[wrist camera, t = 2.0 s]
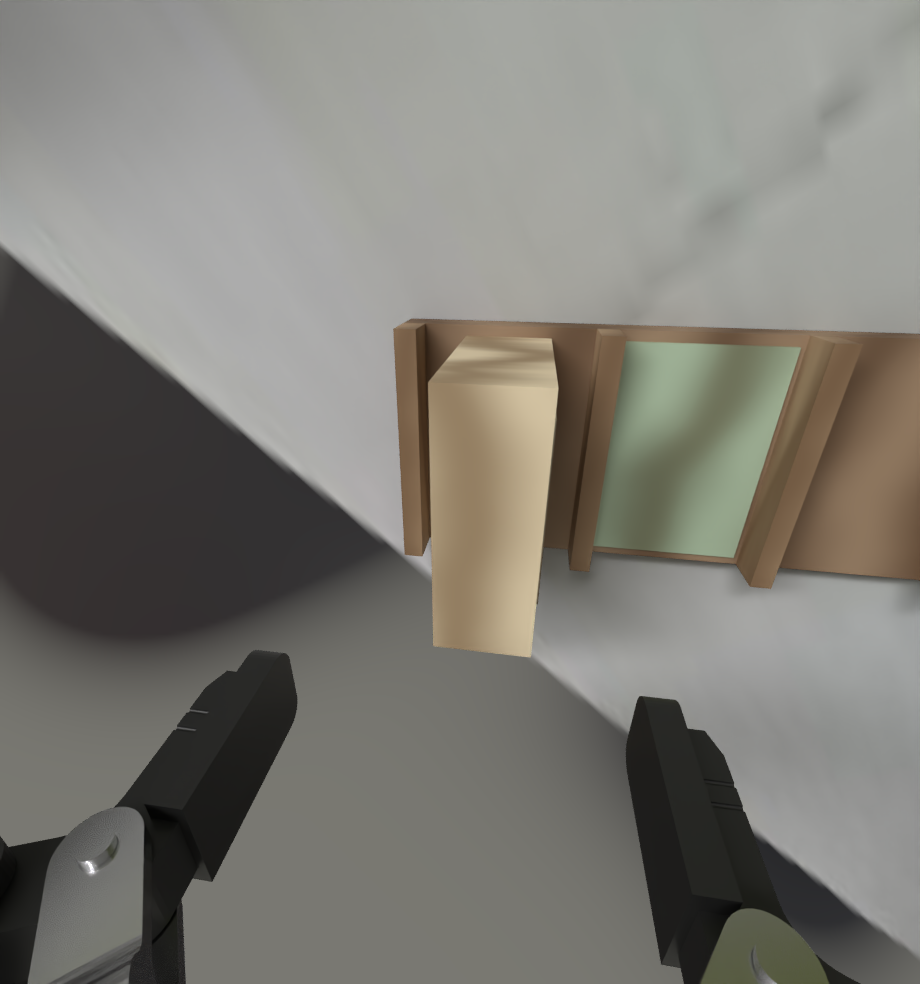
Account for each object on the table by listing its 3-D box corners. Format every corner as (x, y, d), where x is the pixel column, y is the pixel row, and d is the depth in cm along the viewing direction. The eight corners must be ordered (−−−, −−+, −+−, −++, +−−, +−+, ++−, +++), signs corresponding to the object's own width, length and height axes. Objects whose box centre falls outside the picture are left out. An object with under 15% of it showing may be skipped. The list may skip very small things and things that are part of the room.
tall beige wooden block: (554, 338, 22) (563, 388, 14) (535, 539, 27) (534, 657, 19) (463, 335, 23) (423, 381, 15) (461, 532, 28) (429, 645, 20)
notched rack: (1041, 337, 21) (1128, 353, 18) (919, 564, 26) (970, 607, 23) (411, 318, 24) (393, 328, 21) (418, 523, 30) (404, 554, 27)
